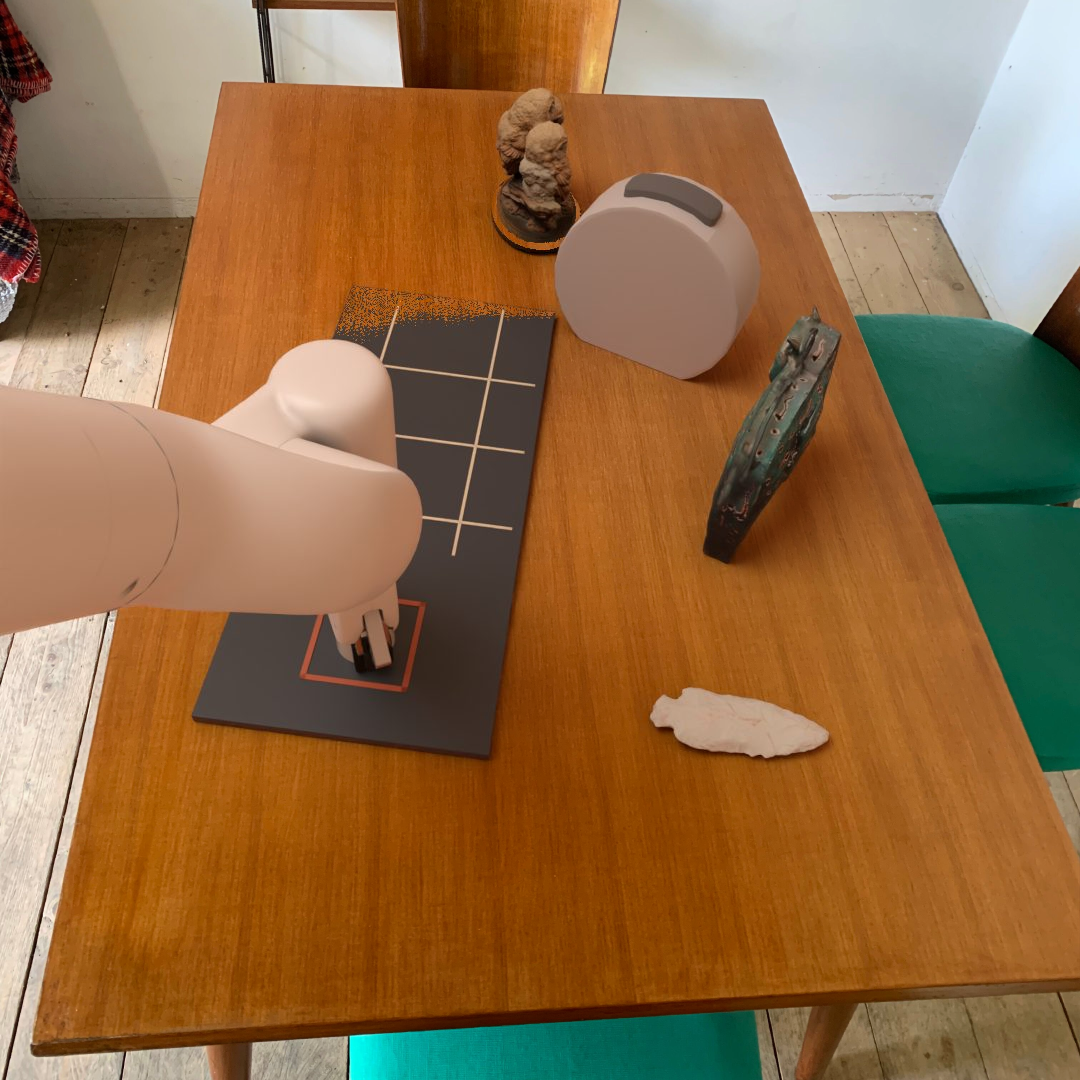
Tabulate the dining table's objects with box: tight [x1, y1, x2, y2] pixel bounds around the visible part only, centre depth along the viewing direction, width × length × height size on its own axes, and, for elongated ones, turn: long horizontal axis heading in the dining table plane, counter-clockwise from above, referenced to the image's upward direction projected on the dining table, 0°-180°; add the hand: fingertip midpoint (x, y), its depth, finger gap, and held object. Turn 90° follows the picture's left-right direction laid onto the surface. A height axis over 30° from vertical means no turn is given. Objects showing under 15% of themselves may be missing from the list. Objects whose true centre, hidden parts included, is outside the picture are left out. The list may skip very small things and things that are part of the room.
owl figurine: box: [490, 87, 576, 253], centre depth 113 cm, size 18×12×17 cm, turn 7°
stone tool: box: [649, 686, 830, 759], centre depth 77 cm, size 6×2×15 cm
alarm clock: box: [554, 172, 762, 380], centre depth 99 cm, size 21×8×20 cm, turn 63°
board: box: [191, 284, 556, 761], centre depth 91 cm, size 56×24×1 cm, turn 174°
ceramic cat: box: [702, 304, 842, 564], centre depth 85 cm, size 20×6×20 cm, turn 152°
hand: (365, 636), depth 78 cm, fingers closed on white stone, 5 cm apart
